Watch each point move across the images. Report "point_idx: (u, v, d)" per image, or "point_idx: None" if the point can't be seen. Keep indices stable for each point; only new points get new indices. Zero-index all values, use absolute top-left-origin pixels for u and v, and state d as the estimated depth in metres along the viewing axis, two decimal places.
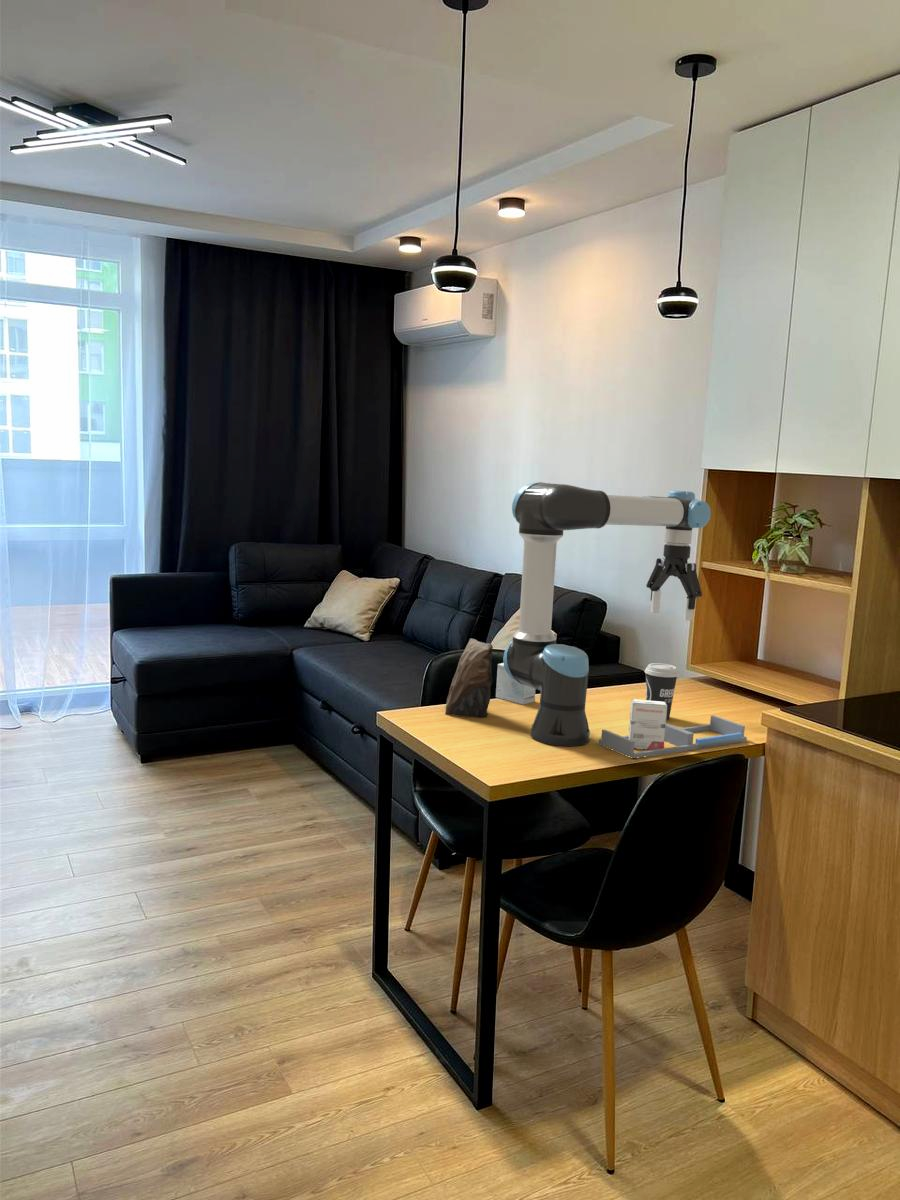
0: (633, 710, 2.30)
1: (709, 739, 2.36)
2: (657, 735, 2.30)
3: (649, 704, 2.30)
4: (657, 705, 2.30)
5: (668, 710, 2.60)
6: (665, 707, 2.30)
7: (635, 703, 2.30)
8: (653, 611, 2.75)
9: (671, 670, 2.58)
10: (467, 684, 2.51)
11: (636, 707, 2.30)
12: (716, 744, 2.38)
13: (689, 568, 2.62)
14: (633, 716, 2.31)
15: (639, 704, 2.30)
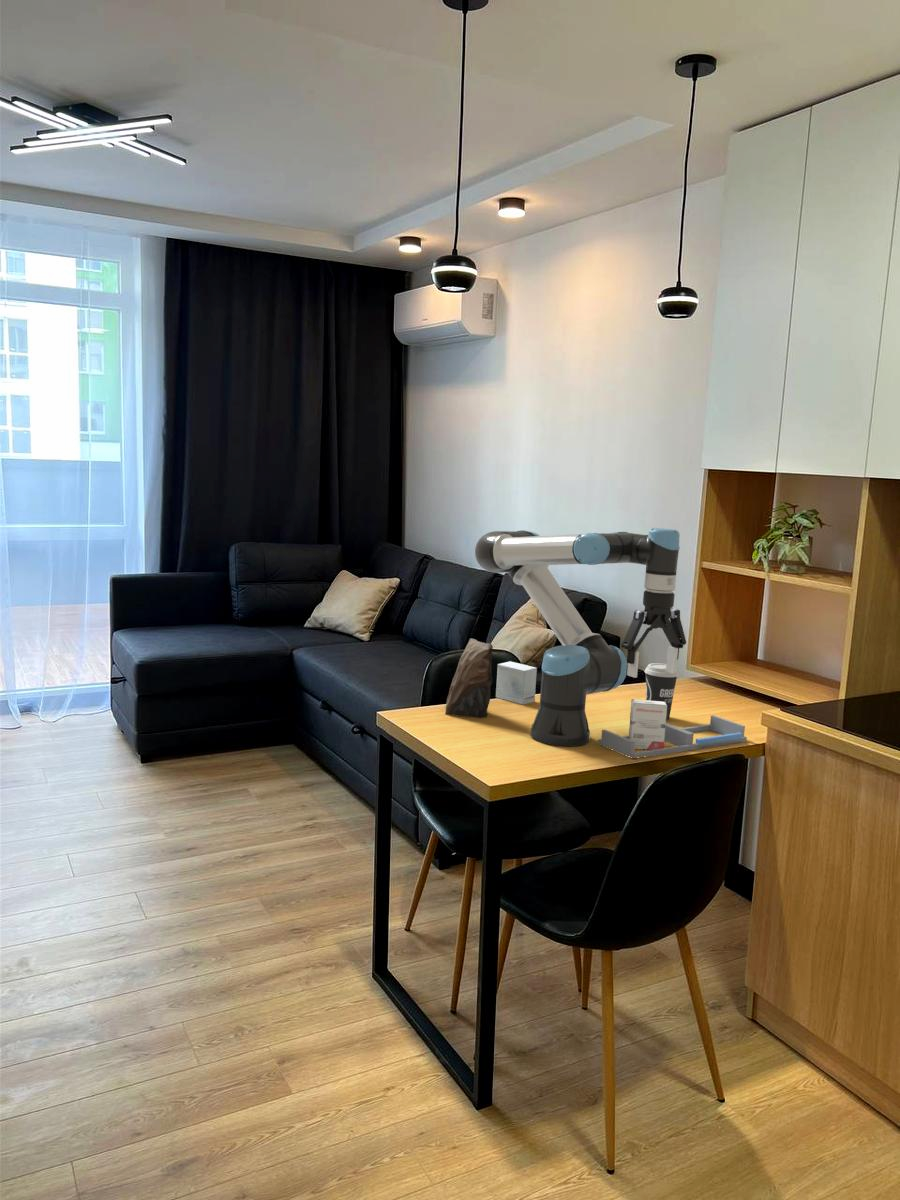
0: (633, 710, 2.30)
1: (709, 739, 2.36)
2: (657, 735, 2.30)
3: (649, 704, 2.30)
4: (657, 705, 2.30)
5: (668, 710, 2.60)
6: (665, 707, 2.30)
7: (635, 703, 2.30)
8: (667, 669, 2.36)
9: None
10: (467, 684, 2.51)
11: (636, 707, 2.30)
12: (716, 744, 2.38)
13: None
14: (633, 716, 2.31)
15: (639, 704, 2.30)
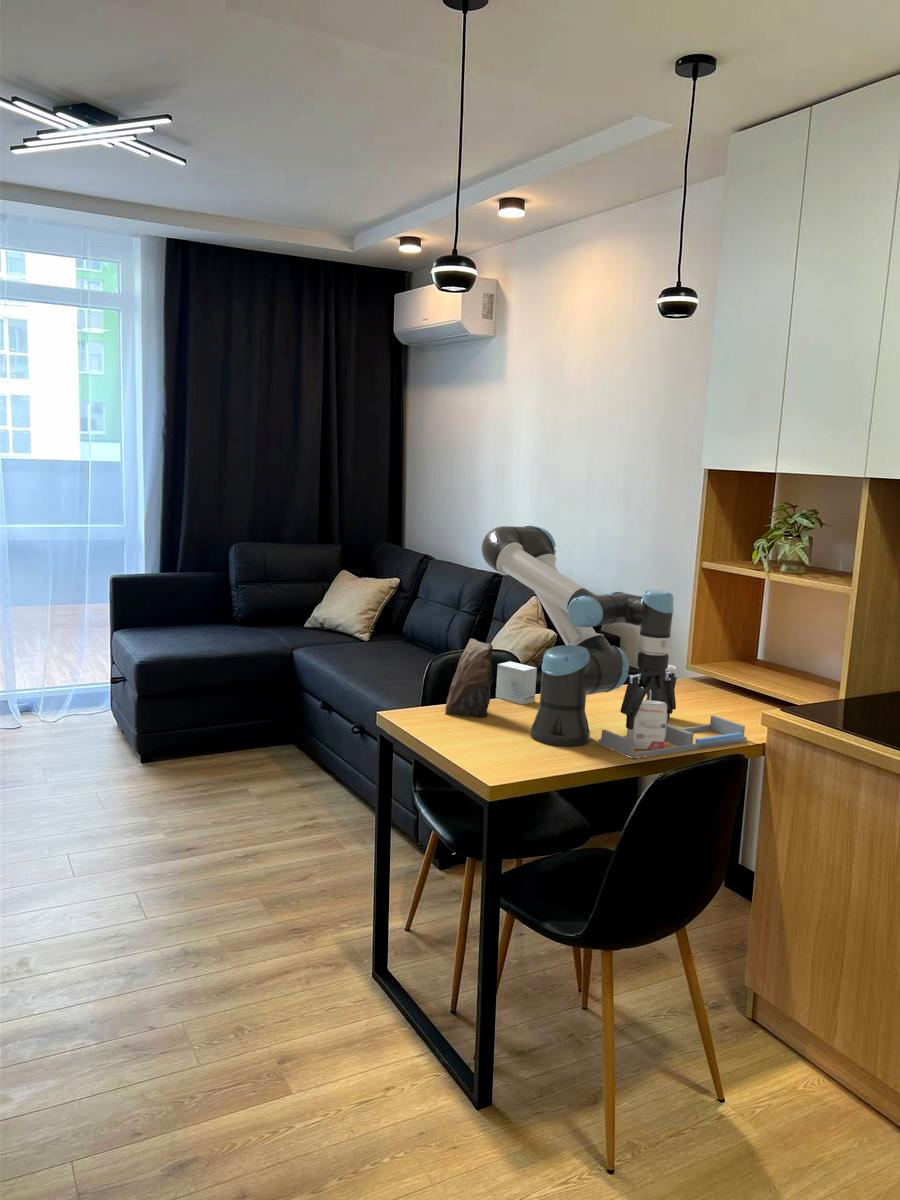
0: None
1: (709, 739, 2.36)
2: (657, 735, 2.30)
3: (649, 704, 2.30)
4: (657, 705, 2.30)
5: None
6: (665, 707, 2.29)
7: None
8: None
9: (671, 670, 2.58)
10: (467, 684, 2.51)
11: None
12: (716, 744, 2.38)
13: None
14: None
15: None
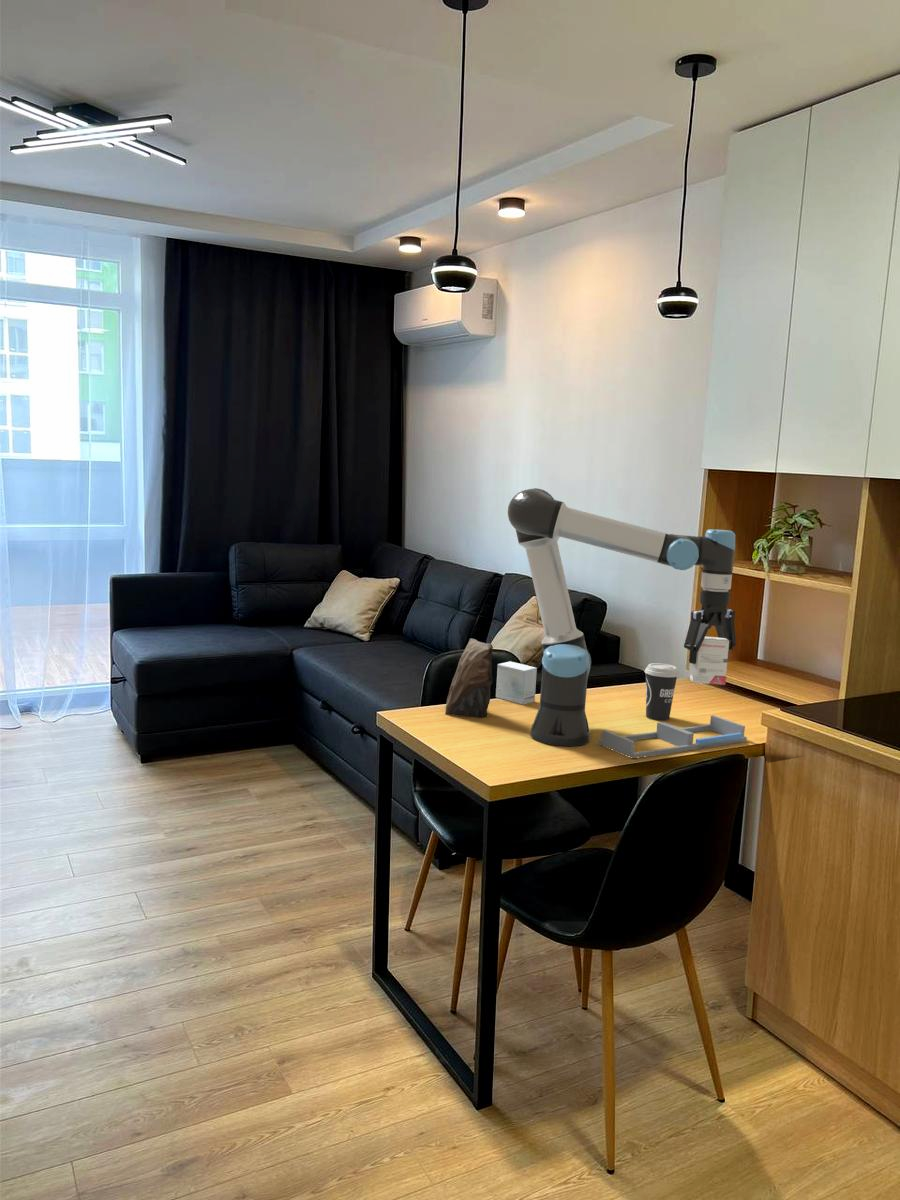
0: None
1: (709, 739, 2.36)
2: (719, 669, 2.38)
3: (712, 639, 2.38)
4: (719, 640, 2.38)
5: (668, 710, 2.60)
6: (727, 642, 2.38)
7: None
8: None
9: (671, 670, 2.58)
10: (467, 684, 2.51)
11: None
12: (716, 744, 2.38)
13: None
14: None
15: None
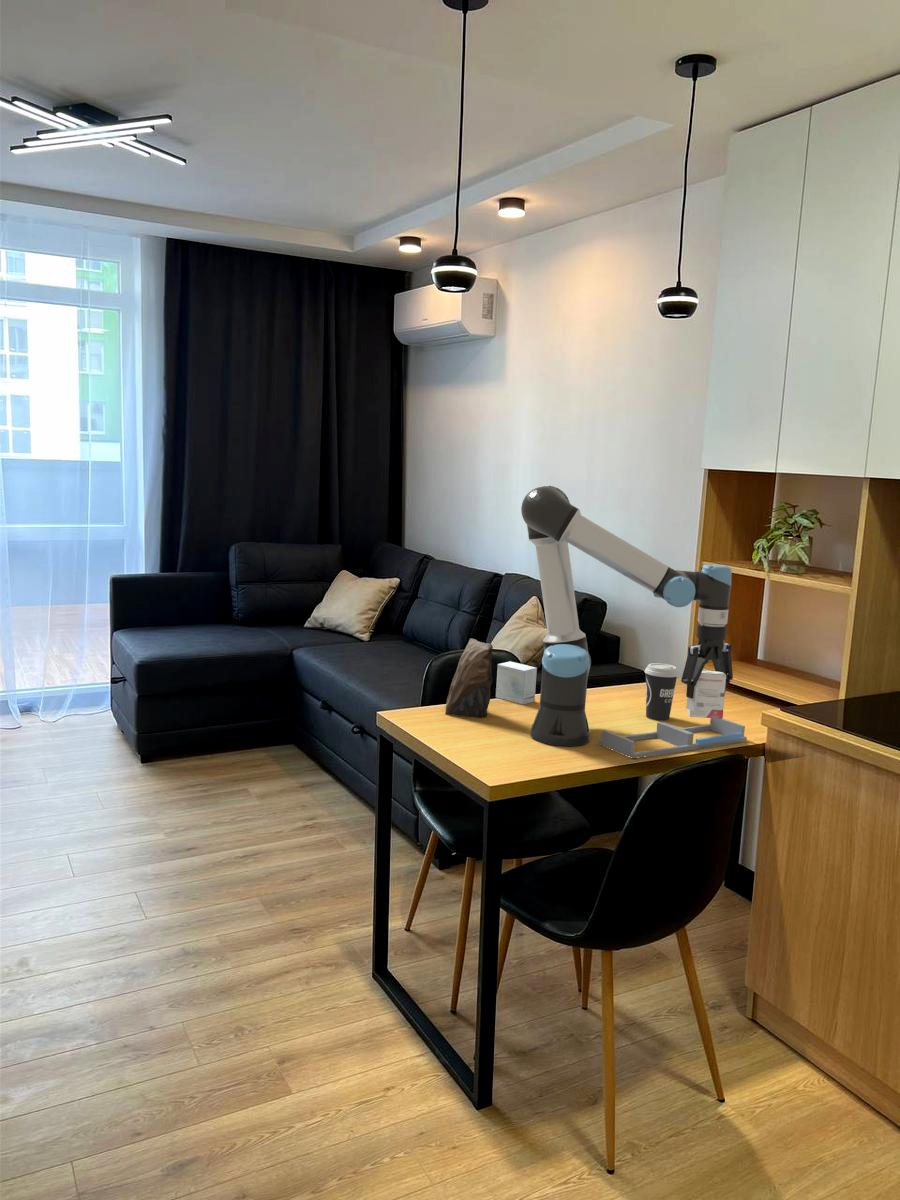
0: None
1: (709, 739, 2.36)
2: (716, 703, 2.40)
3: (709, 674, 2.39)
4: (716, 675, 2.39)
5: (668, 710, 2.60)
6: (724, 676, 2.39)
7: None
8: None
9: (671, 670, 2.58)
10: (467, 684, 2.51)
11: None
12: (716, 744, 2.38)
13: None
14: None
15: None
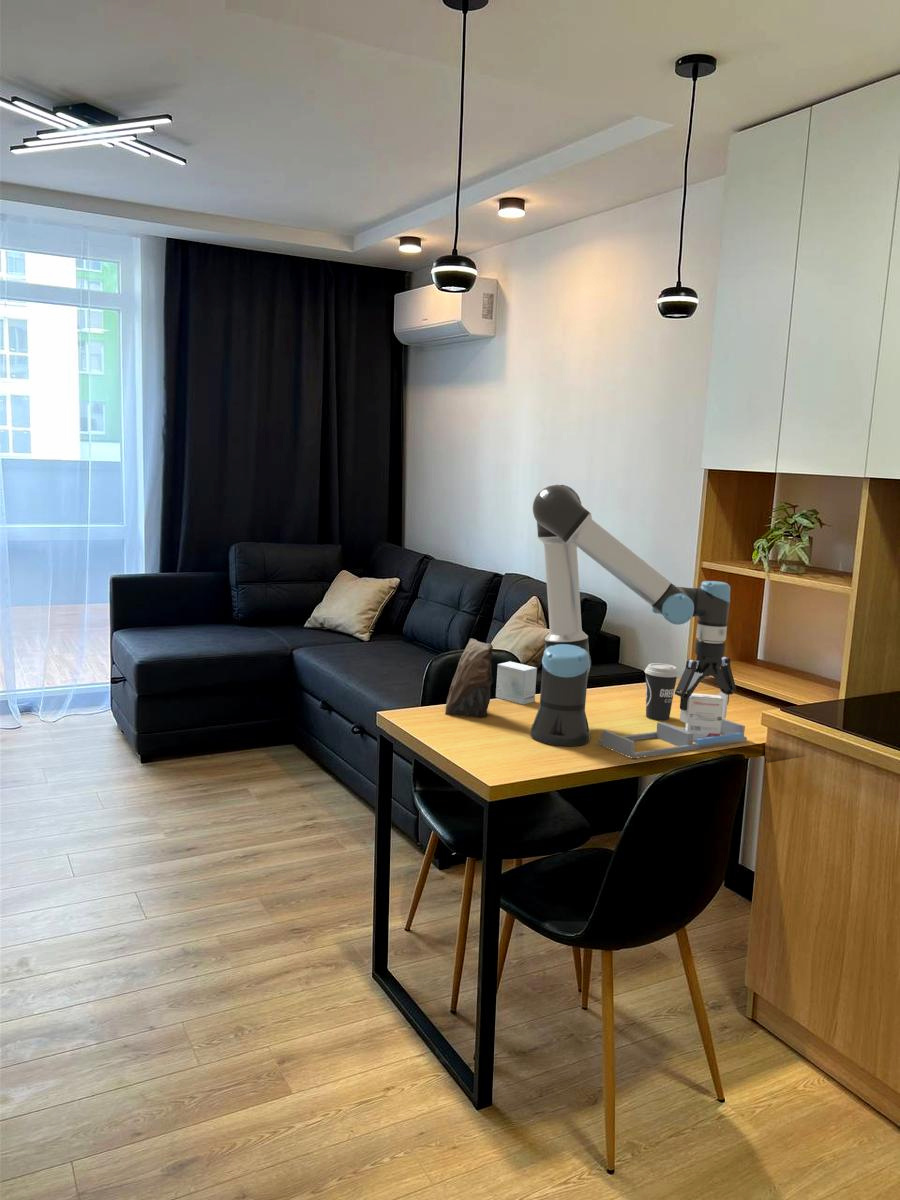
0: None
1: (709, 739, 2.36)
2: (713, 727, 2.41)
3: (706, 697, 2.40)
4: (714, 698, 2.40)
5: (668, 710, 2.60)
6: (721, 700, 2.40)
7: (692, 696, 2.41)
8: None
9: (671, 670, 2.58)
10: (467, 684, 2.51)
11: (693, 700, 2.41)
12: (716, 744, 2.38)
13: None
14: None
15: (696, 697, 2.40)
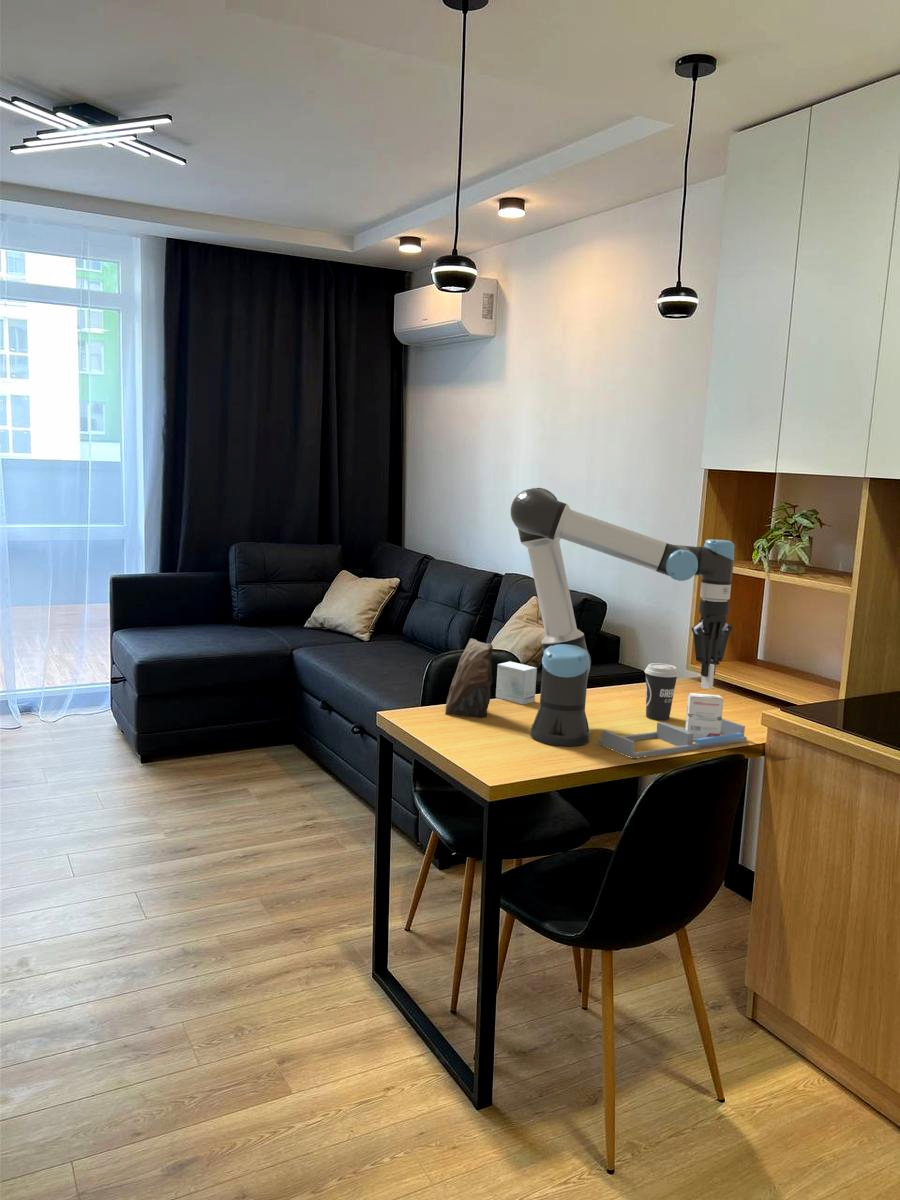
0: (690, 703, 2.41)
1: (709, 739, 2.36)
2: (713, 727, 2.41)
3: (706, 697, 2.40)
4: (714, 698, 2.40)
5: (668, 710, 2.60)
6: (721, 700, 2.40)
7: (692, 696, 2.41)
8: None
9: (671, 670, 2.58)
10: (467, 684, 2.51)
11: (693, 700, 2.41)
12: (716, 744, 2.38)
13: None
14: (690, 709, 2.41)
15: (696, 697, 2.41)
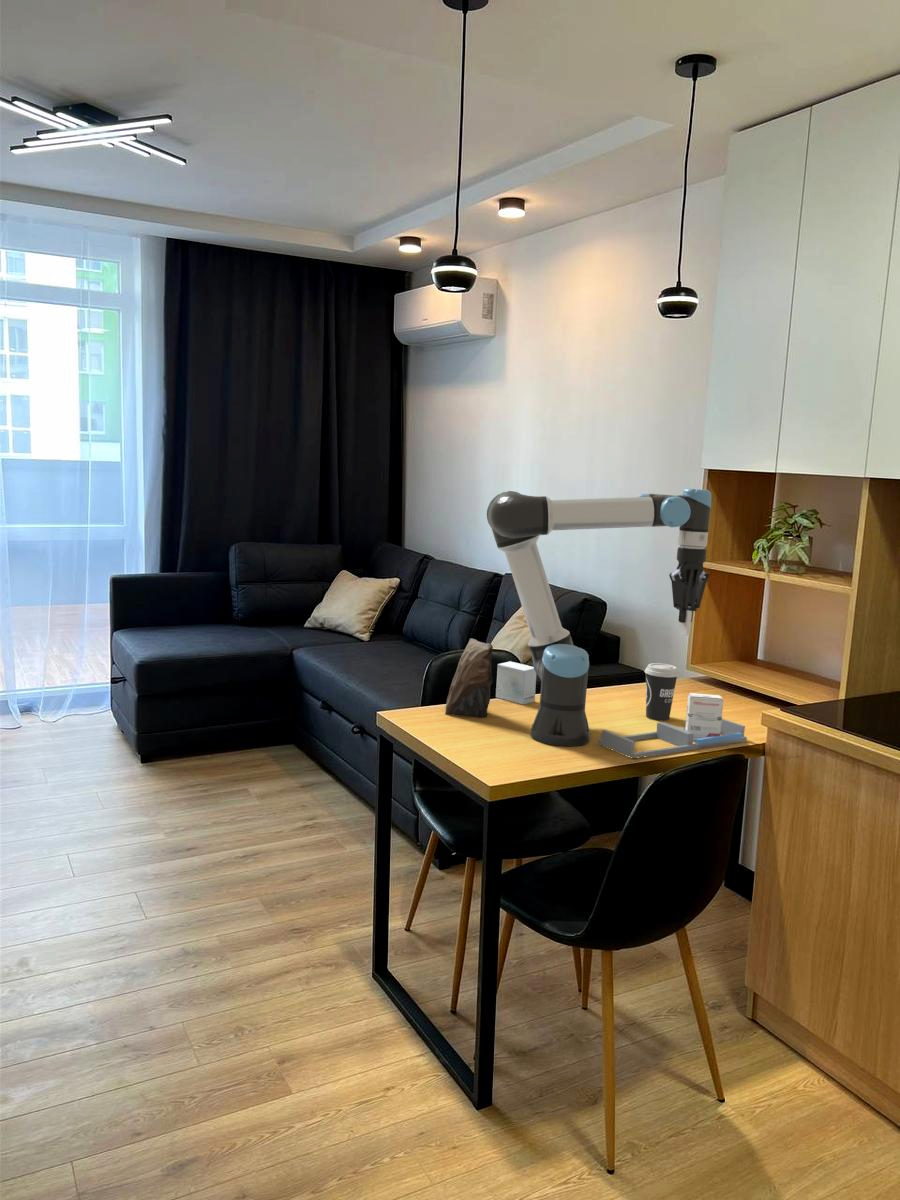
0: (690, 703, 2.41)
1: (709, 739, 2.36)
2: (713, 727, 2.41)
3: (706, 697, 2.40)
4: (714, 698, 2.40)
5: (668, 710, 2.60)
6: (721, 700, 2.40)
7: (692, 696, 2.41)
8: None
9: (671, 670, 2.58)
10: (467, 684, 2.51)
11: (693, 700, 2.41)
12: (716, 744, 2.38)
13: None
14: (690, 709, 2.41)
15: (696, 697, 2.40)
